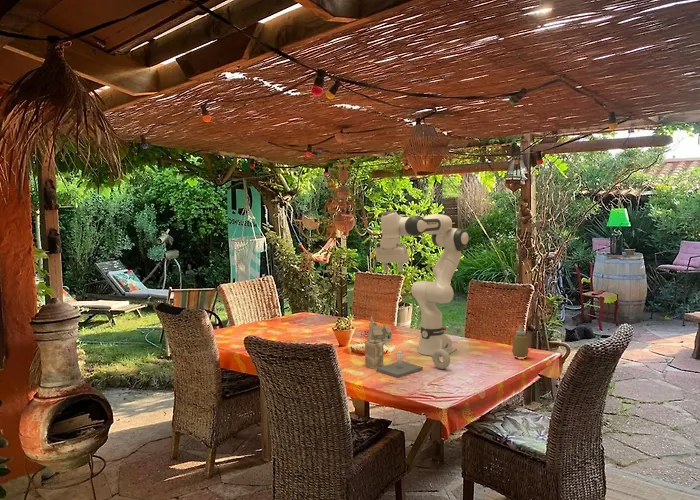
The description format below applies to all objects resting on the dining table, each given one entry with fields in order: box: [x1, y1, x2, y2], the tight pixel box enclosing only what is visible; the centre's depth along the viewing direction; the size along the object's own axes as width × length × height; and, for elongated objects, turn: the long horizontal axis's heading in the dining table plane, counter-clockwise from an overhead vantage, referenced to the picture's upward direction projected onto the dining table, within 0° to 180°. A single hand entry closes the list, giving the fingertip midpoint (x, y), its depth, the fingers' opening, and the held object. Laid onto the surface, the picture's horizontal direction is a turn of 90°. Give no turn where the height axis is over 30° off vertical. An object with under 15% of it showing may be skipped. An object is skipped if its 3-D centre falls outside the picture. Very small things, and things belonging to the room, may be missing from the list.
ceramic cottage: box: [366, 316, 393, 345], centre depth 307 cm, size 16×16×15 cm
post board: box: [375, 350, 424, 379], centre depth 249 cm, size 18×14×10 cm
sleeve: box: [364, 340, 384, 370], centre depth 256 cm, size 6×6×12 cm
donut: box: [432, 349, 451, 370], centre depth 252 cm, size 10×4×10 cm, turn 43°
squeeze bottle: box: [511, 324, 529, 357], centre depth 269 cm, size 8×8×18 cm
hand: (392, 271), depth 257 cm, fingers open, 8 cm apart
